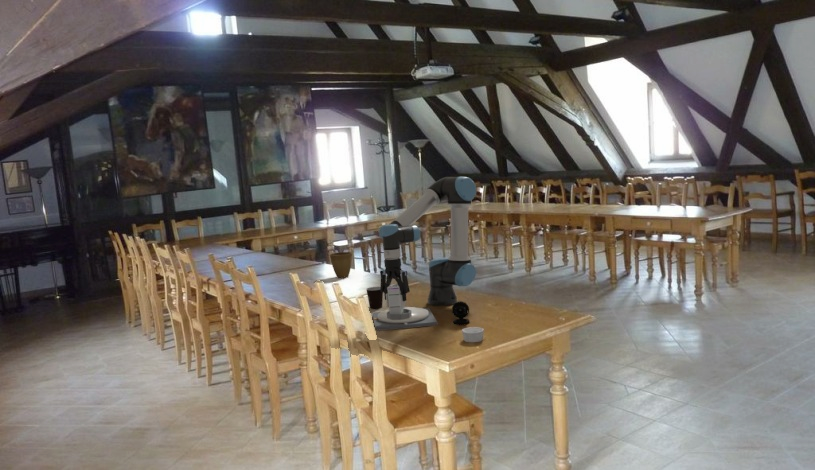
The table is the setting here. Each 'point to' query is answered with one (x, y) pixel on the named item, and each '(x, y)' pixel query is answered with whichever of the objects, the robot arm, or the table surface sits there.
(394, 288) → the syrup box
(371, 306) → the black cup
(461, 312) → the webcam
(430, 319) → the base
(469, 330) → the ramekin
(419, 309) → the grey round plate
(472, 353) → the table surface
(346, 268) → the plant pot
